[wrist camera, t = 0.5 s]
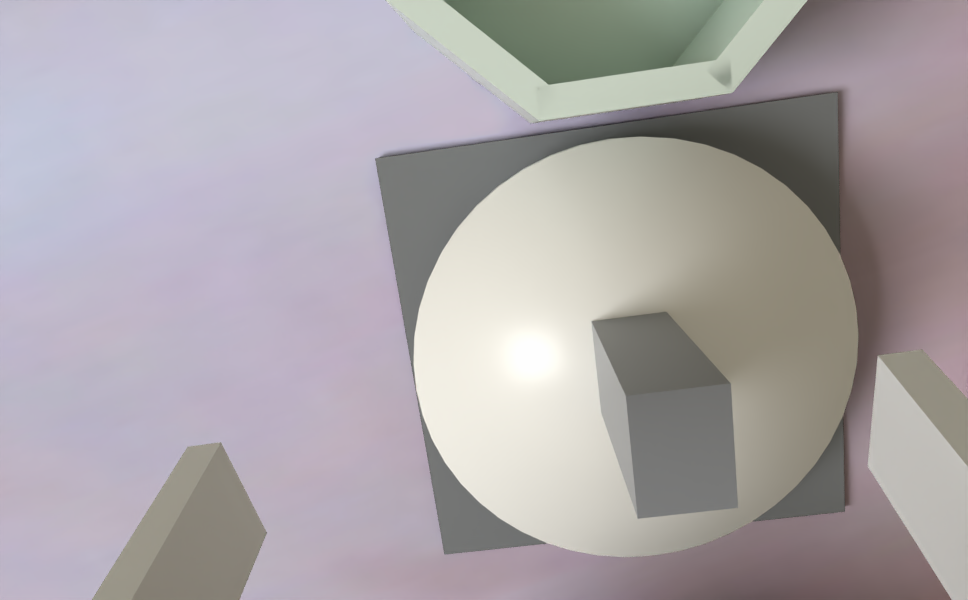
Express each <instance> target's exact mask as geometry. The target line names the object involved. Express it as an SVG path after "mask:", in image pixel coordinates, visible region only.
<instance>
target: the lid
mask: <svg viewBox="0 0 968 600" xmlns="http://www.w3.org/2000/svg"><path fill="white" fill-rule="evenodd" d="M858 337H859V335H858V323H857V311H856V304H855V300H854V296H853V291H852V287H851V283H850V279H849V277H848V274H847V271H846V269H845V266H844V264H843V261H842V259H841V256H840V254H839V252H838V250H837V248H836V247H835V245H834V243H833V241H832V240H831V238H830V236H829V234H828V233H827V231H826V229H825V228H824V226H823V225H822V224H821V223H820V221H819V220H818V219H817V218H816V216H815V215H814V214H813V212H812V211H811V210H810V209H809V207H808V206H807V205H806V204H805V203H804V202H803V201H802V200H801V199H800V198H799V197H797V196H796V195H795V194H794V193H793V192H792V191H791V190H790V189H789V188H788V187H787V186H786V185H784V184H783V183H782V182H780V181H779V180H777V179H776V178H774V177H773V176H772V175H770V174H769V173H767V172H766V171H765V170H763V169H762V168H760V167H758V166H756V165H754V164H752V163H750V162H748V161H746V160H744V159H742V158H740V157H738V156H736V155H734V154H731V153H729V152H726V151H723V150H720V149H717V148H714V147H711V146H708V145H705V144H700V143H695V142H690V141H685V140H680V139H675V138H658V137H625V138H612V139H605V140H600V141H595V142H591V143H586V144H581V145H577V146H574V147H571V148H569V149H566V150H563V151H560V152H557V153H554V154H552V155H549V156H547V157H545V158H543V159H541V160H539V161H537V162H535V163H533V164H531V165H529V166H527V167H525V168H523V169H522V170H520V171H519V172H518V173H516V174H515V175H513V176H512V177H510V178H509V179H507V180H506V181H504V182H503V183H501V184H500V185H499V186H497V187H496V188H495V189H494V190H493V191H492V192H491V193H490V194H488V195H487V196H486V197H485V198H484V199H483V200H482V201H481V202H480V203H478V204H477V205H476V206H475V208H474V209H473V210H472V211H471V212H470V213H469V215H468V216H467V217H466V218H465V219H464V220H463V222H462V223H461V224H460V225H459V226H458V227H457V229H456V231H455V232H454V234H453V235H452V237H451V238H450V240H449V241H448V243H447V244H446V246H445V248H444V249H443V251H442V252H441V254H440V256H439V258H438V261H437V263H436V265H435V267H434V269H433V271H432V273H431V275H430V278H429V280H428V282H427V285H426V288H425V291H424V295H423V298H422V301H421V304H420V307H419V312H418V318H417V324H416V330H415V335H414V372H415V382H416V391H417V395H418V399H419V403H420V407H421V411H422V415H423V418H424V420H425V423H426V425H427V428H428V430H429V433H430V435H431V438H432V440H433V442H434V444H435V446H436V447H437V449H438V451H439V453H440V455H441V456H442V458H443V460H444V462H445V463H446V465H447V466H448V467H449V469H450V470H451V471H452V473H453V474H454V475H455V477H456V478H457V479H458V481H459V482H460V483H461V484H462V485H463V486H464V487H465V488H466V489H467V490H468V492H469V493H470V494H471V495H472V496H473V497H474V498H475V499H476V500H477V501H478V502H479V503H481V504H482V505H483V506H484V507H486V508H487V509H488V510H489V511H491V512H492V513H493V514H495V515H496V516H497V517H498V518H500V519H501V520H503V521H505V522H506V523H508V524H510V525H511V526H513V527H515V528H516V529H518V530H520V531H521V532H523V533H525V534H528V535H530V536H532V537H534V538H537V539H539V540H541V541H543V542H545V543H549V544H552V545H555V546H558V547H561V548H565V549H568V550H571V551H576V552H582V553H587V554H593V555H599V556H614V557H638V556H654V555H660V554H666V553H672V552H678V551H682V550H685V549H689V548H692V547H696V546H699V545H703V544H706V543H708V542H711V541H713V540H715V539H718V538H720V537H723V536H725V535H728V534H730V533H732V532H734V531H735V530H737V529H739V528H741V527H743V526H744V525H746V524H748V523H750V522H752V521H754V520H755V519H756V518H758V517H759V516H761V515H762V514H763V513H765V512H766V511H768V510H769V509H770V508H772V507H773V506H775V505H776V504H777V503H778V502H779V501H780V500H782V499H783V498H784V497H785V496H786V495H787V494H788V493H789V492H790V491H791V490H793V489H794V488H795V487H796V486H797V485H798V484H799V482H800V481H801V480H802V479H803V478H804V477H805V476H806V474H807V473H808V472H809V471H810V470H811V469H812V467H813V466H814V465H815V464H816V462H817V461H818V459H819V458H820V456H821V455H822V453H823V452H824V450H825V449H826V447H827V446H828V444H829V443H830V441H831V439H832V437H833V435H834V433H835V431H836V429H837V427H838V425H839V423H840V421H841V419H842V417H843V414H844V411H845V408H846V405H847V402H848V399H849V397H850V394H851V391H852V386H853V381H854V376H855V371H856V366H857V354H858Z"/></svg>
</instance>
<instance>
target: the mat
mask: <svg viewBox="0 0 968 600" xmlns="http://www.w3.org/2000/svg"><path fill="white" fill-rule="evenodd" d="M625 137H658V138H675V139H680V140H685V141H690V142H695V143H700V144H705V145H708V146H711V147H714V148H717V149H720V150H723V151H726V152H729V153H731V154H734V155H736V156H738V157H740V158H742V159H744V160H746V161H748V162H750V163H752V164H754V165H756V166H758V167H760V168H762V169H763V170H765V171H766V172H767V173H769V174H770V175H772V176H773V177H774V178H776V179H777V180H779V181H780V182H782V183H783V184H784V185H786V186H787V187H788V188H789V189H790V190H791V191H792V192H793V193H794V194H795V195H796V196H797V197H799V198H800V199H801V200H802V201H803V202H804V203H805V204H806V205H807V206H808V207H809V209H810V210H811V211H812V212H813V214H814V215H815V216H816V218H817V219H818V220H819V221H820V223H821V224H822V225H823V226H824V228H825V229H826V231H827V233H828V234H829V236H830V238H831V240H832V241H833V243H834V245H835V247H836V248H837V250H838V252H839V254H840V207H839V149H838V92H834V93H827V94H820V95H813V96H806V97H799V98H792V99H785V100H778V101H771V102H764V103H757V104H750V105H743V106H737V107H730V108H723V109H716V110H709V111H702V112H695V113H688V114H681V115H674V116H667V117H660V118H653V119H646V120H639V121H632V122H626V123H619V124H612V125H605V126H598V127H591V128H584V129H577V130H570V131H563V132H556V133H549V134H542V135H535V136H528V137H521V138H515V139H508V140H501V141H494V142H487V143H480V144H473V145H466V146H459V147H452V148H445V149H438V150H431V151H424V152H417V153H410V154H404V155H397V156H390V157H383V158H376V159H375V160H376V166H377V172H378V177H379V183H380V189H381V194H382V200H383V206H384V212H385V217H386V223H387V229H388V234H389V240H390V246H391V252H392V257H393V263H394V269H395V274H396V280H397V286H398V292H399V297H400V303H401V309H402V314H403V320H404V326H405V332H406V337H407V343H408V349H409V354H410V360H411V366H412V372H413V377H414V383H415V389H416V382H415V372H414V335H415V330H416V324H417V318H418V312H419V307H420V304H421V301H422V298H423V295H424V291H425V288H426V285H427V282H428V280H429V278H430V275H431V273H432V271H433V269H434V267H435V265H436V263H437V261H438V258H439V256H440V254H441V252H442V251H443V249H444V248H445V246H446V244H447V243H448V241H449V240H450V238H451V237H452V235H453V234H454V232H455V231H456V229H457V227H458V226H459V225H460V224H461V223H462V222H463V220H464V219H465V218H466V217H467V216H468V215H469V213H470V212H471V211H472V210H473V209H474V208H475V206H476V205H477V204H478V203H480V202H481V201H482V200H483V199H484V198H485V197H486V196H487V195H488V194H490V193H491V192H492V191H493V190H494V189H495V188H496V187H497V186H499V185H500V184H501V183H503V182H504V181H506V180H507V179H509V178H510V177H512V176H513V175H515V174H516V173H518V172H519V171H520V170H522V169H523V168H525V167H527V166H529V165H531V164H533V163H535V162H537V161H539V160H541V159H543V158H545V157H547V156H549V155H552V154H554V153H557V152H560V151H563V150H566V149H569V148H571V147H574V146H577V145H581V144H586V143H591V142H595V141H600V140H605V139H612V138H625ZM416 394H417V391H416ZM417 400H418V406H419V412H420V417H421V423H422V429H423V434H424V440H425V446H426V452H427V457H428V463H429V469H430V474H431V480H432V486H433V492H434V497H435V503H436V509H437V514H438V520H439V526H440V532H441V537H442V543H443V549H444V554H453V553H462V552H472V551H481V550H490V549H500V548H509V547H518V546H528V545H537V544H547V543H545V542H543V541H541V540H539V539H537V538H534V537H532V536H530V535H528V534H525V533H523V532H521V531H520V530H518V529H516V528H515V527H513V526H511V525H510V524H508V523H506V522H505V521H503V520H501V519H500V518H498V517H497V516H496V515H495V514H493V513H492V512H491V511H489V510H488V509H487V508H486V507H484V506H483V505H482V504H481V503H479V502H478V501H477V500H476V499H475V498H474V497H473V496H472V495H471V494H470V493H469V492H468V490H467V489H466V488H465V487H464V486H463V485H462V484H461V483H460V482H459V481H458V479H457V478H456V477H455V475H454V474H453V473H452V471H451V470H450V469H449V467H448V466H447V465H446V463H445V462H444V460H443V458H442V456H441V455H440V453H439V451H438V449H437V447H436V446H435V444H434V442H433V440H432V438H431V435H430V433H429V430H428V428H427V425H426V423H425V420H424V418H423V415H422V411H421V407H420V403H419V399H418V395H417ZM836 512H845V498H844V440H843V417H842V419H841V421H840V423H839V425H838V427H837V429H836V431H835V433H834V435H833V437H832V439H831V441H830V443H829V444H828V446H827V447H826V449H825V450H824V452H823V453H822V455H821V456H820V458H819V459H818V461H817V462H816V464H815V465H814V466H813V467H812V469H811V470H810V471H809V472H808V473H807V474H806V476H805V477H804V478H803V479H802V480H801V481H800V482H799V484H798V485H797V486H796V487H795V488H794V489H793V490H791V491H790V492H789V493H788V494H787V495H786V496H785V497H784V498H783V499H782V500H780V501H779V502H778V503H777V504H776V505H775V506H773V507H772V508H770V509H769V510H768V511H766V512H765V513H763V514H762V515H761V516H759V517H758V518H756V519H755V520H754V521H761V520H771V519H780V518H789V517H799V516H808V515H818V514H827V513H836Z"/></svg>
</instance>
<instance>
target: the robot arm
mask: <svg viewBox="0 0 968 600" xmlns="http://www.w3.org/2000/svg"><path fill="white" fill-rule="evenodd" d="M868 467H869V469H870V470H871V472H872V474H873V475H874V477H875V478H876V480H877V482H878V483H879V485H880V486H881V488H882V490H883V491H884V493H885V494H886V496H887V498H888V499H889V501H890V502H891V504H892V505H893V507H894V509H895V510H896V512H897V513H898V515H899V517H900V518H901V520H902V521H903V523H904V525H905V526H906V528H907V529H908V531H909V533H910V534H911V536H912V537H913V539H914V540H915V542H916V544H917V545H918V547H919V548H920V550H921V552H922V553H923V555H924V556H925V558H926V560H927V561H928V563H929V564H930V566H931V568H932V569H933V571H934V572H935V574H936V575H937V577H938V579H939V580H940V582H941V583H942V585H943V587H944V588H945V590H946V591H947V593H948V595H949V596H950V598H951V599H952V600H968V399H967V398H966V397H965V396H964V395H963V393H962V392H961V391H960V390H959V389H958V388H957V387H956V386H955V385H954V384H953V383H952V381H951V380H950V379H949V378H948V377H947V376H946V375H945V374H944V373H943V372H942V371H941V370H940V368H939V367H938V366H937V365H936V364H935V363H934V362H933V361H932V360H931V359H930V358H929V357H928V355H927V354H926V353H925V352H924V351H923V350H915V351H908V352H900V353H892V354H885V355H878V359H877V370H876V381H875V392H874V403H873V413H872V424H871V435H870V446H869V457H868ZM266 534H267V532H266V530H265V529H264V527H263V525H262V523H261V521H260V519H259V517H258V515H257V513H256V511H255V509H254V507H253V505H252V503H251V501H250V499H249V497H248V495H247V493H246V491H245V489H244V487H243V485H242V483H241V481H240V479H239V477H238V475H237V473H236V471H235V469H234V467H233V465H232V463H231V461H230V459H229V457H228V456H227V454H226V452H225V450H224V448H223V446H222V444H221V443H213V444H205V445H198V446H190V447H187V449H186V450H185V452H184V453H183V455H182V457H181V458H180V460H179V461H178V463H177V465H176V466H175V468H174V469H173V471H172V473H171V474H170V476H169V477H168V479H167V481H166V482H165V484H164V485H163V487H162V489H161V490H160V492H159V493H158V495H157V497H156V498H155V500H154V501H153V503H152V505H151V506H150V508H149V509H148V511H147V513H146V514H145V516H144V517H143V519H142V521H141V522H140V524H139V525H138V527H137V529H136V530H135V532H134V533H133V535H132V537H131V538H130V540H129V541H128V543H127V545H126V546H125V548H124V549H123V551H122V552H121V554H120V556H119V557H118V559H117V560H116V562H115V564H114V565H113V567H112V568H111V570H110V572H109V573H108V575H107V576H106V578H105V580H104V581H103V583H102V584H101V586H100V588H99V589H98V591H97V592H96V594H95V596H94V597H93V599H92V600H239V599H240V597H241V594H242V592H243V589H244V587H245V585H246V582H247V580H248V577H249V575H250V572H251V570H252V568H253V565H254V563H255V560H256V558H257V555H258V553H259V551H260V548H261V546H262V543H263V541H264V538H265V536H266Z"/></svg>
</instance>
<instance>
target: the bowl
mask: <svg viewBox="0 0 968 600" xmlns="http://www.w3.org/2000/svg"><path fill="white" fill-rule="evenodd" d="M385 1H386V2H387V3H388V4H389V5H390V6H391V7H392V8H393V9H394V11H395V12H396V13H397V14H398V15H399V16H400V17H401V18H402V19H403V20H404V22H405V23H406V24H407V25H408V26H409V27H410V28H411V29H412V30H413V31H414V32H415V33H416V34H417V35H418V36H420V37H421V38H422V39H424V40H425V41H426V42H427V43H429V44H430V45H431V46H432V47H434V48H435V49H436V50H438V51H439V52H440V53H441V54H443V55H444V56H445V57H446V58H448V59H449V60H450V61H452V62H453V63H454V64H455V65H457V66H458V67H459V68H460V69H462V70H463V71H464V72H465V73H467V74H468V75H469V76H470V77H471V78H472V79H473V80H474V81H476V82H477V83H479V84H480V85H482V86H483V87H485V88H486V89H487V90H488V91H490V92H491V93H492V94H493V95H495V96H496V97H497V98H499V99H500V100H501V101H502V102H504V103H505V104H506V105H507V106H509V107H510V108H511V109H513V110H514V111H515V112H516V113H518V114H519V115H520V116H521V117H523V118H524V119H525V120H527V121H528V122H529V123H530V124H532V123H538V122H545V121H552V120H559V119H566V118H573V117H580V116H587V115H594V114H601V113H607V112H614V111H621V110H628V109H635V108H642V107H649V106H655V105H662V104H669V103H676V102H682V101H688V100H694V99H700V98H705V97H711V96H717V95H723V94H729V93H733V92H734V90H735V89H736V88H737V87H738V85H739V84H740V83H741V82H742V80H743V79H744V78H745V77H746V75H747V74H748V73H749V72H750V71H751V69H752V68H753V67H754V66H755V64H756V63H757V62H758V61H759V59H760V58H761V57H762V56H763V55H764V53H765V52H766V51H767V50H768V48H769V47H770V46H771V45H772V43H773V42H774V41H775V40H776V39H777V37H778V36H779V35H780V34H781V32H782V31H783V30H784V29H785V27H786V26H787V25H788V24H789V23H790V21H791V20H792V19H793V18H794V16H795V15H796V14H797V13H798V11H799V10H800V9H801V8H802V6H803V5H804V4H805V3H806V2H807V0H385Z"/></svg>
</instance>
